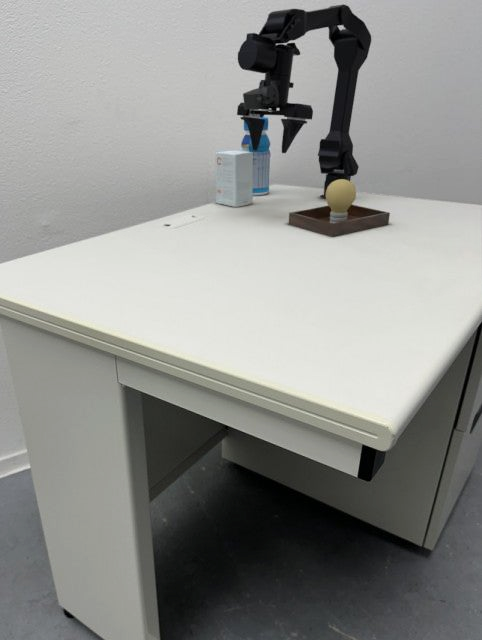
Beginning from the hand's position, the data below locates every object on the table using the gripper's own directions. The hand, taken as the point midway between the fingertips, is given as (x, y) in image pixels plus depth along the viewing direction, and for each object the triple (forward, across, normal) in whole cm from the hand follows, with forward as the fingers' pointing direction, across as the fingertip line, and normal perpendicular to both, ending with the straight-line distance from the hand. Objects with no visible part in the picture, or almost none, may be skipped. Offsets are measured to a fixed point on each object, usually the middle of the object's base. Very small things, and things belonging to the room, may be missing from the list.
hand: (269, 151), depth 128 cm
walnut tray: (+14, +19, +6) cm, 24 cm away
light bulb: (+14, +20, +3) cm, 25 cm away
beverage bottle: (+12, -22, +20) cm, 32 cm away
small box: (+14, -16, +6) cm, 22 cm away
